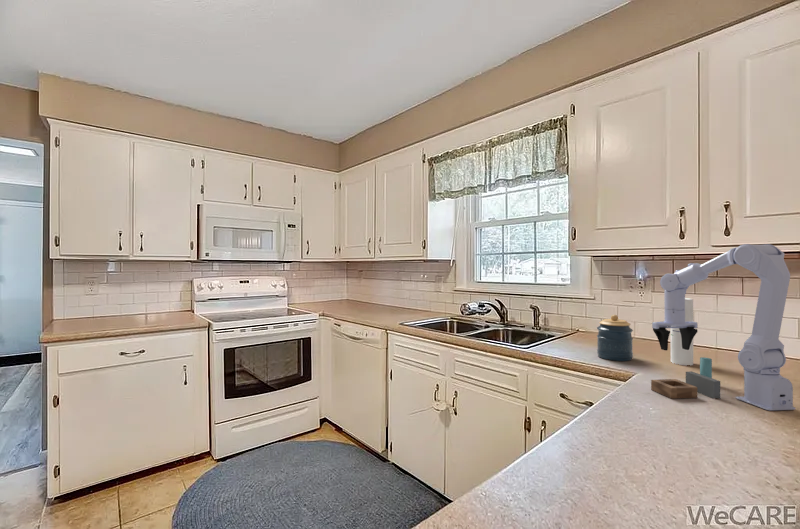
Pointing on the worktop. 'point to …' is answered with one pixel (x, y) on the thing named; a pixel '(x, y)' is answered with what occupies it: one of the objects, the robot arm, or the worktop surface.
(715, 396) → the board
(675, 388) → the brown square frame
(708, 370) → the dowel
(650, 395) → the worktop surface
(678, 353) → the cylindrical container
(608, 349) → the canister
